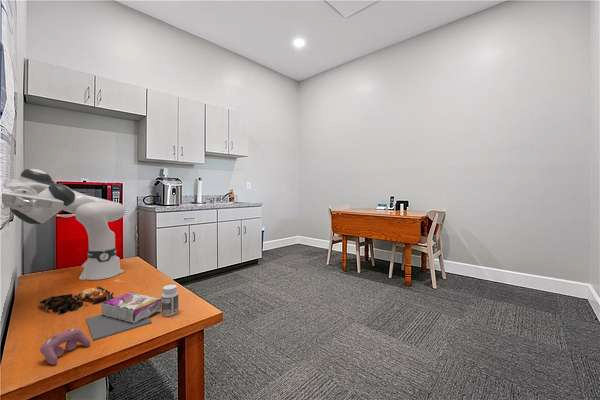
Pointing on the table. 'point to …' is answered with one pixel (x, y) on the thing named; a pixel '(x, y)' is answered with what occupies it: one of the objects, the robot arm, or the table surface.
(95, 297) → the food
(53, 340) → the video game controller
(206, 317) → the table surface
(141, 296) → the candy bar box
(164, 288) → the pill bottle
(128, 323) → the mat
